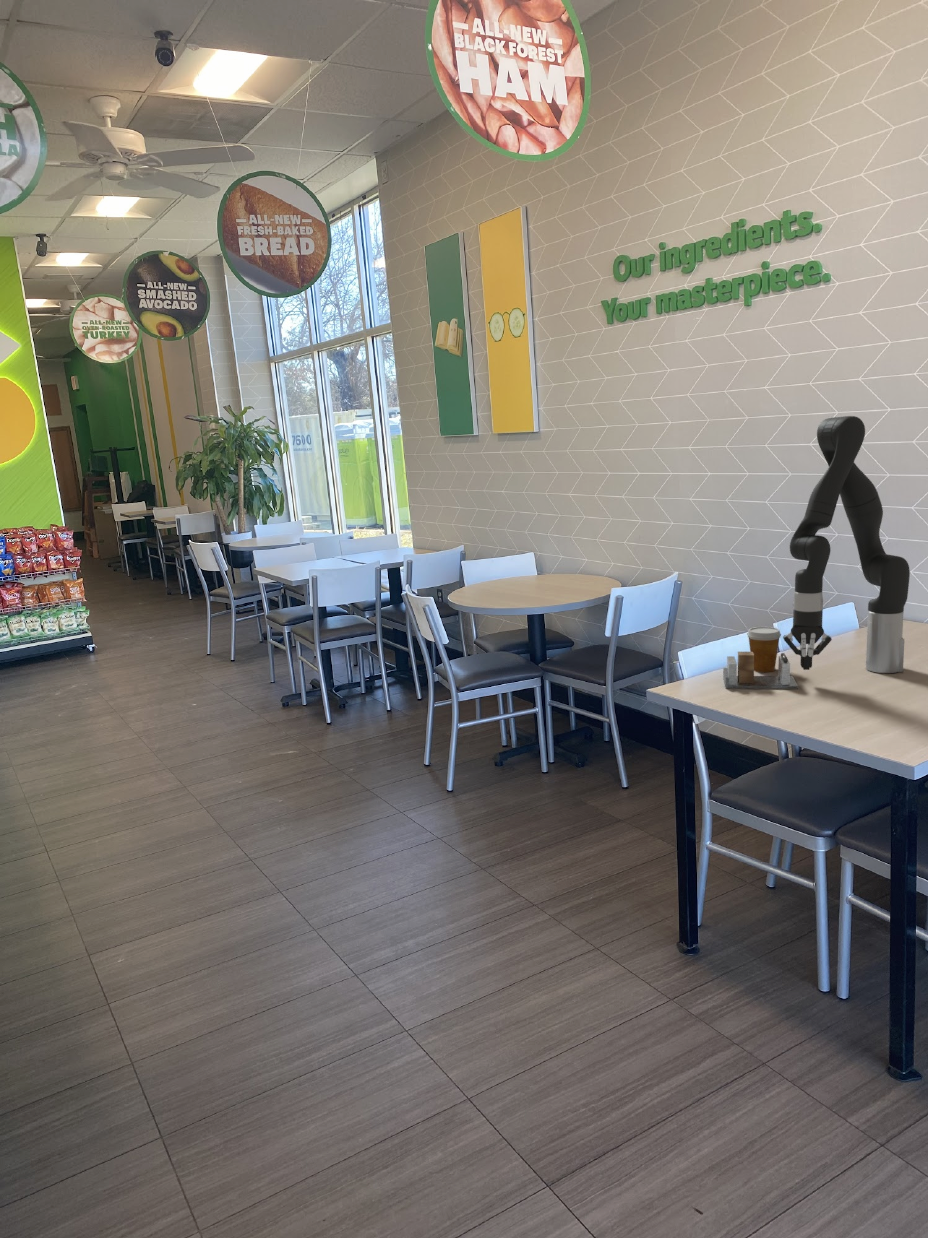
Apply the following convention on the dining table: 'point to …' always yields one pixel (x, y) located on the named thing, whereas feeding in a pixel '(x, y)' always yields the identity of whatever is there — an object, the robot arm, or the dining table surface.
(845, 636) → the dining table surface
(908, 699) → the dining table surface
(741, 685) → the vise bed
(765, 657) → the disposable coffee cup
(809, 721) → the dining table surface
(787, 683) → the block
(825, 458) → the robot arm
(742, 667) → the walnut block
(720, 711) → the dining table surface
